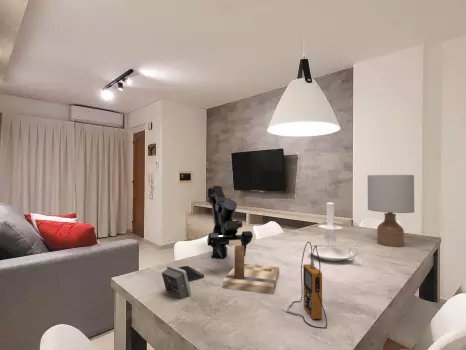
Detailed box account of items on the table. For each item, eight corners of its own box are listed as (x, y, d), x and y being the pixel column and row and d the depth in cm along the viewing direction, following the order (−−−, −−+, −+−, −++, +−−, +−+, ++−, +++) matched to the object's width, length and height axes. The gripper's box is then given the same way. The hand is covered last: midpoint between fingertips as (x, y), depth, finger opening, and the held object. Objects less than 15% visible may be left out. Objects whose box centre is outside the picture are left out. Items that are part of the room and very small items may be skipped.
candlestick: (344, 271, 107) (343, 205, 108) (300, 256, 128) (299, 201, 129) (371, 263, 118) (370, 203, 119) (326, 250, 139) (326, 199, 140)
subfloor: (222, 287, 90) (222, 280, 90) (237, 269, 109) (237, 263, 109) (273, 294, 85) (273, 286, 85) (279, 273, 104) (279, 267, 104)
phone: (187, 265, 111) (205, 275, 100) (187, 268, 111) (205, 278, 100) (170, 269, 106) (187, 280, 95) (170, 272, 106) (187, 283, 95)
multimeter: (276, 302, 79) (276, 238, 80) (307, 301, 80) (307, 238, 81) (291, 330, 65) (291, 251, 65) (329, 328, 65) (328, 251, 66)
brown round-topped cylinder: (232, 284, 93) (232, 246, 93) (238, 281, 95) (238, 244, 96) (240, 287, 90) (240, 248, 91) (246, 284, 93) (246, 246, 93)
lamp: (361, 243, 154) (361, 175, 155) (376, 237, 170) (375, 175, 171) (408, 252, 136) (407, 174, 137) (419, 244, 152) (418, 175, 153)
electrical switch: (191, 296, 84) (189, 268, 83) (179, 303, 80) (177, 274, 79) (174, 288, 89) (172, 262, 89) (161, 295, 85) (159, 268, 85)
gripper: (208, 213, 103) (213, 247, 93) (251, 212, 108) (260, 244, 97) (205, 229, 111) (209, 262, 100) (245, 227, 116) (253, 258, 105)
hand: (233, 256), depth 100 cm, fingers open, 9 cm apart
